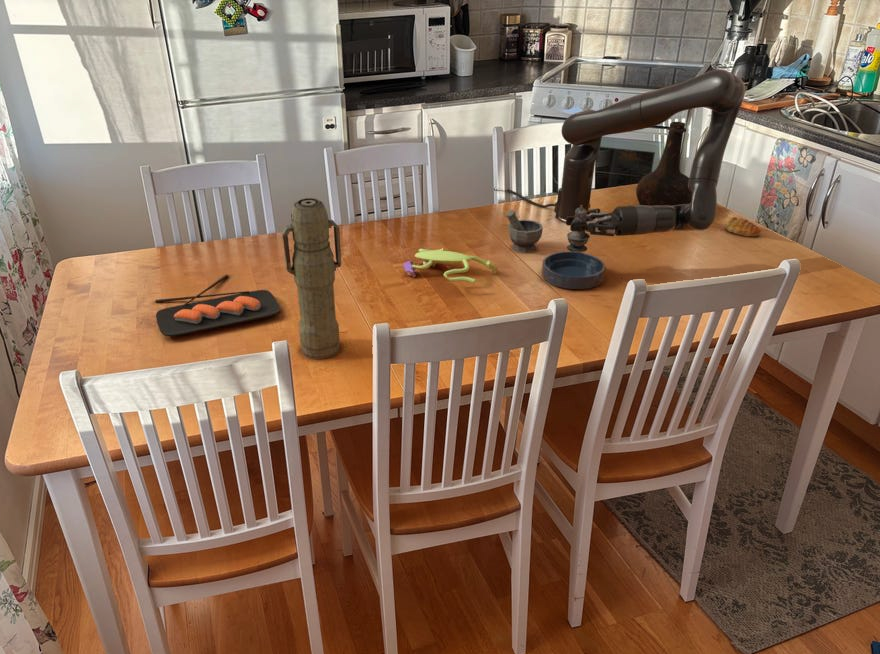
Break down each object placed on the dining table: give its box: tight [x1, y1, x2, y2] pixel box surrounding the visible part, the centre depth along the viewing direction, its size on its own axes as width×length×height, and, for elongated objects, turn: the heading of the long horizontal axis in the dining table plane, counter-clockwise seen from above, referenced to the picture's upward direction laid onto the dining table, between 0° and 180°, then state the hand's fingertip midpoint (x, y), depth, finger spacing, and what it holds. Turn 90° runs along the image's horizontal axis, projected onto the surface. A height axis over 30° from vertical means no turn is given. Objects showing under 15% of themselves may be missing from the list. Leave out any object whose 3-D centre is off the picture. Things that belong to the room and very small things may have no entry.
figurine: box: [402, 247, 499, 285], centre depth 197 cm, size 18×27×6 cm
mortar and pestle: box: [505, 209, 544, 253], centre depth 209 cm, size 11×9×12 cm
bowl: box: [541, 251, 606, 290], centre depth 195 cm, size 16×16×4 cm
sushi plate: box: [155, 274, 281, 337], centre depth 184 cm, size 29×30×4 cm
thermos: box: [281, 197, 342, 360], centre depth 157 cm, size 9×12×35 cm
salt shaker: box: [566, 205, 591, 253], centre depth 188 cm, size 6×6×12 cm
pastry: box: [725, 216, 762, 237], centre depth 219 cm, size 9×7×4 cm
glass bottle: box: [635, 121, 692, 206], centre depth 229 cm, size 18×18×28 cm
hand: (568, 224), depth 187 cm, fingers closed on salt shaker, 3 cm apart
